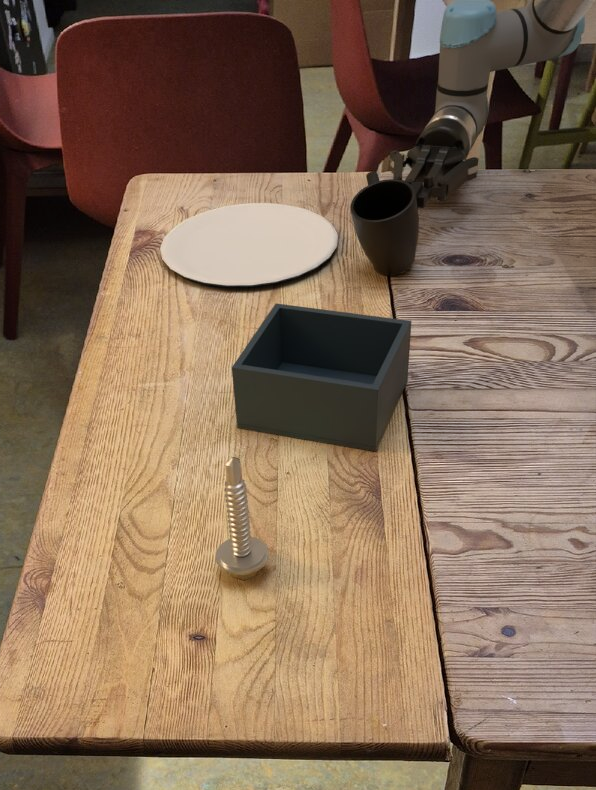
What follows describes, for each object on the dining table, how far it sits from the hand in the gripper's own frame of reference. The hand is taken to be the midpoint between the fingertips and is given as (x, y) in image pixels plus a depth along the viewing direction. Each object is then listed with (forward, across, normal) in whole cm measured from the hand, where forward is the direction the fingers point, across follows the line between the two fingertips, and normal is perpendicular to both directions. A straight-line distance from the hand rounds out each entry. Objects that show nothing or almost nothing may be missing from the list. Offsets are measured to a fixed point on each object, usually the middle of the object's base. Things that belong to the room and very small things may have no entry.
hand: (405, 212), depth 122 cm
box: (+36, 0, -6) cm, 37 cm away
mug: (+2, +1, -5) cm, 5 cm away
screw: (+63, -1, -6) cm, 64 cm away
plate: (+3, +21, -6) cm, 22 cm away
